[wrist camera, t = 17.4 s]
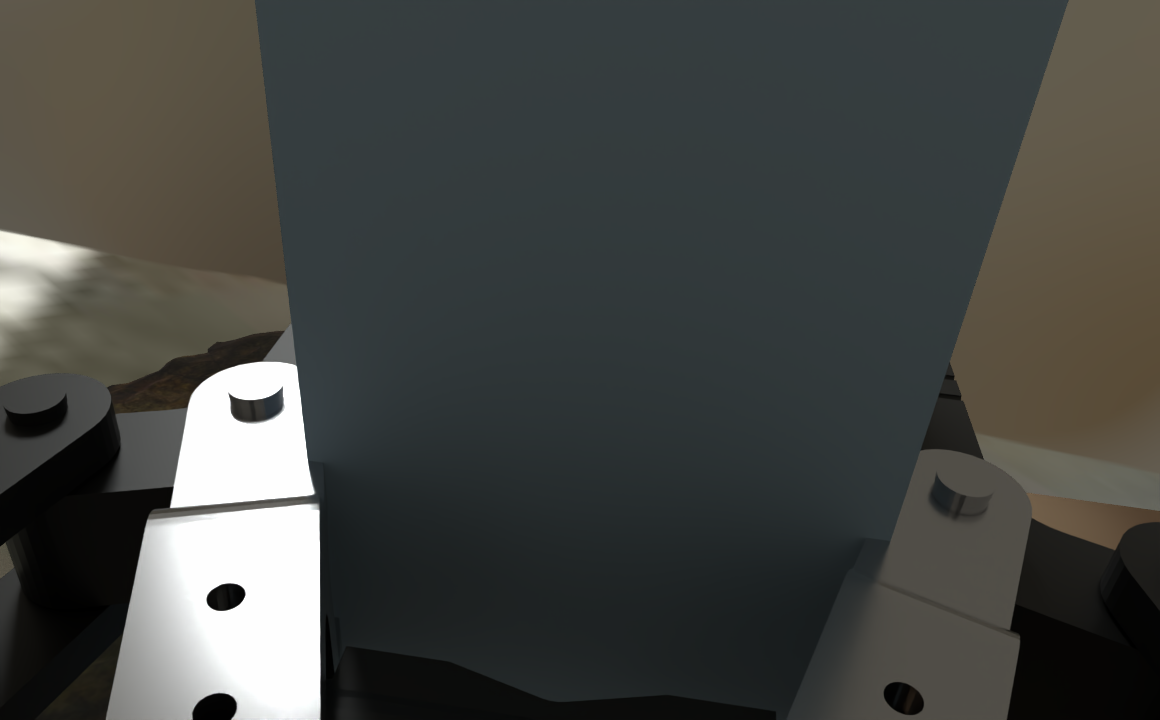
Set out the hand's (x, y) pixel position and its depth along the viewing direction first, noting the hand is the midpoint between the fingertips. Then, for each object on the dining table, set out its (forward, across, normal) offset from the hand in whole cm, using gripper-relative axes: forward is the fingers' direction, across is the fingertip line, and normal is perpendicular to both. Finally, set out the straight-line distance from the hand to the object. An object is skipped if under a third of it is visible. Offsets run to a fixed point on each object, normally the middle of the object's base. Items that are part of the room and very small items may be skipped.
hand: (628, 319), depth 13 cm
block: (-3, 0, +9) cm, 9 cm away
